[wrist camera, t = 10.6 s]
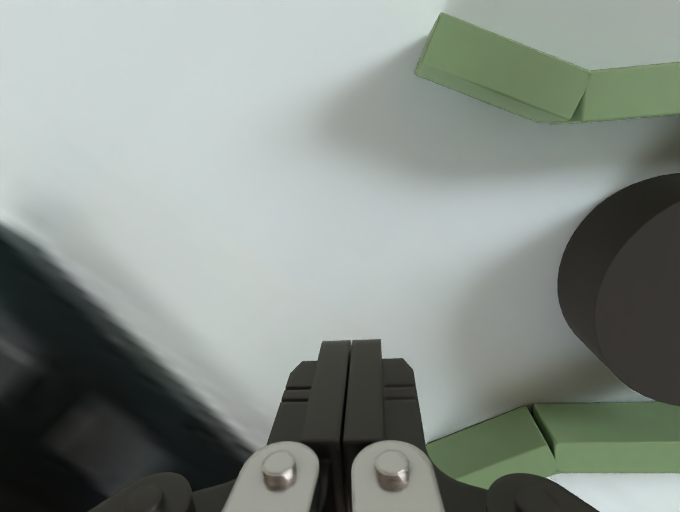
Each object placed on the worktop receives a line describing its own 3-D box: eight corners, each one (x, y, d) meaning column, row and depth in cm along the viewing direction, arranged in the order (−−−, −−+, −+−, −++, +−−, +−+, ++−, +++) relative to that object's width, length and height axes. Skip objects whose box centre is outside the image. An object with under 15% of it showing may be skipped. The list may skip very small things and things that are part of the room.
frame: (413, 34, 15) (420, 14, 12) (935, -25, 13) (1062, -61, 10) (426, 466, 20) (433, 512, 17) (798, 465, 18) (862, 515, 16)
